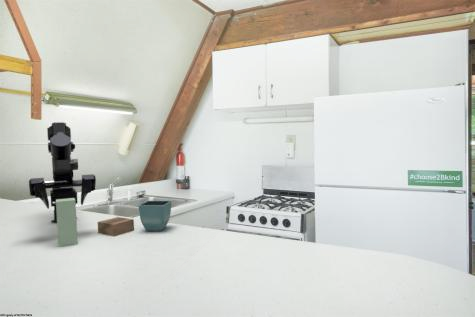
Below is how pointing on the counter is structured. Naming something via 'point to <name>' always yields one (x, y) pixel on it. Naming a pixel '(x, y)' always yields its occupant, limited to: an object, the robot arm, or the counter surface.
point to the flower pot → (155, 214)
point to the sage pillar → (66, 222)
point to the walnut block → (115, 226)
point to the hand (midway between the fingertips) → (65, 206)
